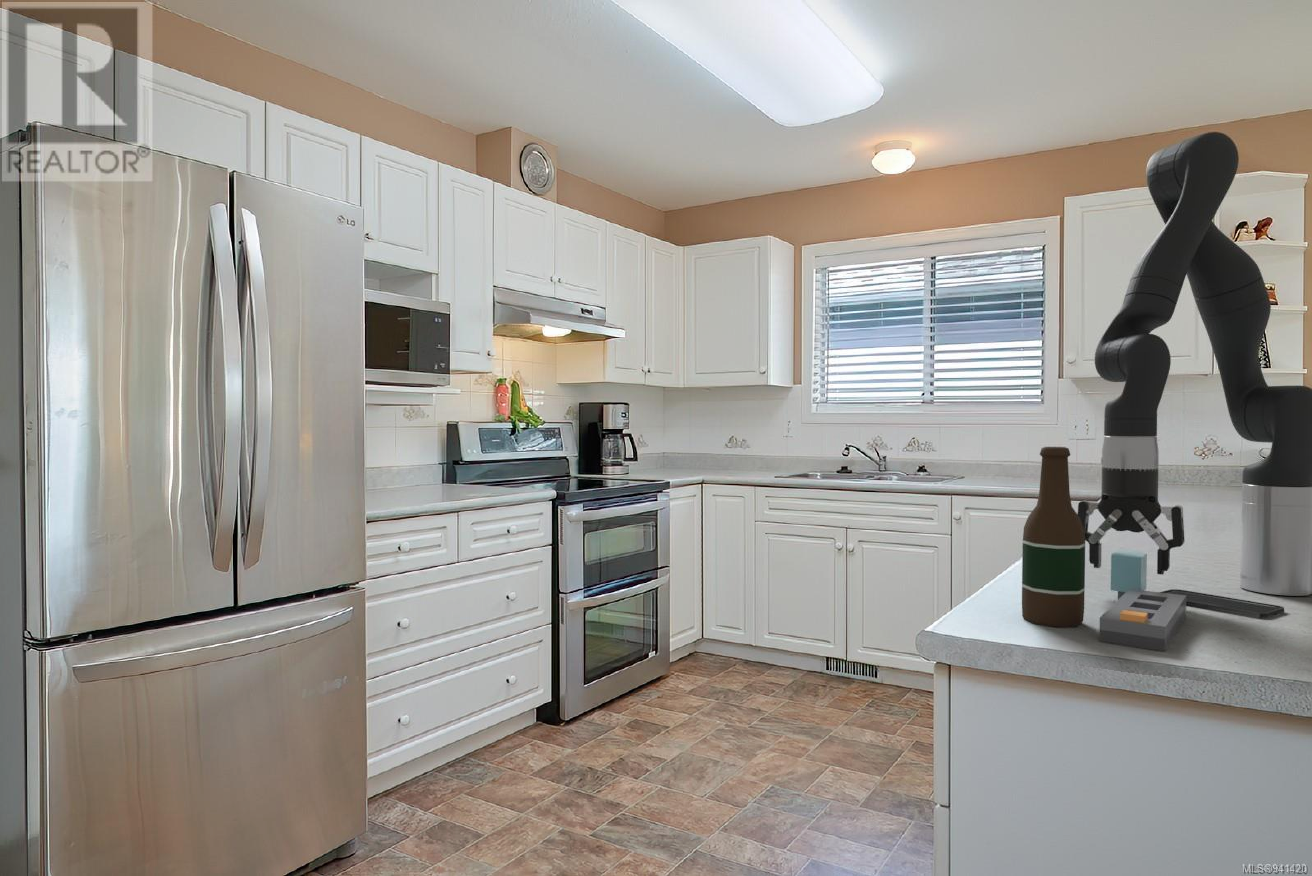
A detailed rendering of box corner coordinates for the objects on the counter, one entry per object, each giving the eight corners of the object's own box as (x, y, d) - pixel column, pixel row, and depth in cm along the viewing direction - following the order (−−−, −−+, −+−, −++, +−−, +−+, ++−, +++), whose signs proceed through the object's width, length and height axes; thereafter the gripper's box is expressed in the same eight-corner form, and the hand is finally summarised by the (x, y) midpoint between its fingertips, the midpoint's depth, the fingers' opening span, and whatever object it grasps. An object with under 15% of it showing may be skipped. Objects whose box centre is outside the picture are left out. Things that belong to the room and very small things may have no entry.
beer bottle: (1079, 616, 114) (1081, 446, 113) (1089, 630, 106) (1092, 448, 106) (1018, 612, 116) (1021, 445, 115) (1024, 625, 109) (1027, 447, 108)
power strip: (1129, 609, 118) (1129, 583, 118) (1185, 616, 114) (1186, 589, 114) (1099, 641, 101) (1099, 611, 101) (1164, 651, 97) (1165, 620, 97)
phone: (1174, 588, 129) (1287, 607, 117) (1174, 595, 129) (1286, 614, 117) (1149, 594, 125) (1264, 614, 112) (1149, 601, 125) (1264, 622, 112)
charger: (1116, 595, 128) (1117, 550, 127) (1146, 598, 125) (1146, 553, 125) (1110, 600, 124) (1111, 554, 124) (1140, 604, 121) (1141, 557, 121)
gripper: (1187, 466, 123) (1186, 572, 123) (1083, 462, 131) (1082, 562, 132) (1181, 468, 117) (1180, 580, 117) (1073, 465, 126) (1071, 568, 126)
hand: (1128, 570), depth 124 cm, fingers open, 8 cm apart
